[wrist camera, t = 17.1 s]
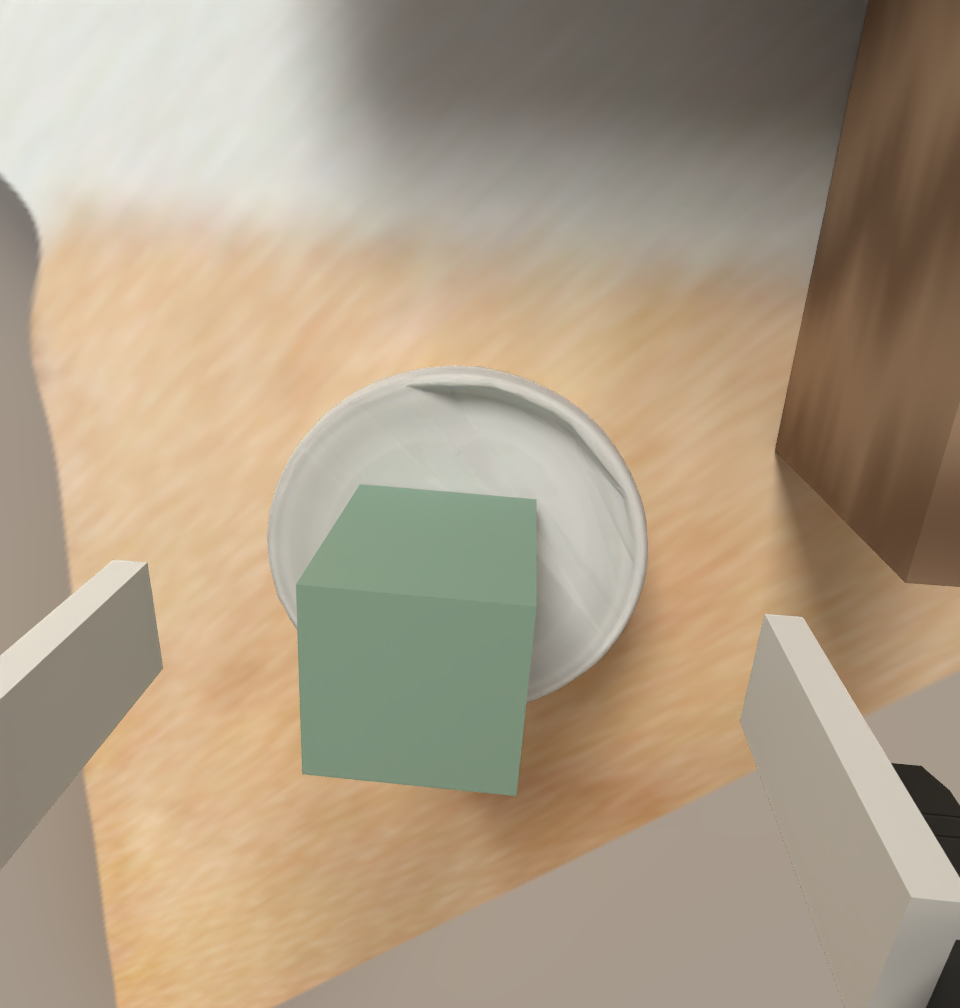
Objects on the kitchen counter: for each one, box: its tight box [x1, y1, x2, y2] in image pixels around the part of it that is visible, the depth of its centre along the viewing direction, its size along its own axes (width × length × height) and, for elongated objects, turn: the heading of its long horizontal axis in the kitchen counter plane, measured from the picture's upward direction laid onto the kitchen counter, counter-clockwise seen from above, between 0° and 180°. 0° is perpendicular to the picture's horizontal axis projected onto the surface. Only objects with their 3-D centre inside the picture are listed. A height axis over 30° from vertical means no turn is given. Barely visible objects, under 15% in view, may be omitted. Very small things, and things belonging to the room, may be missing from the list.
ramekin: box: [267, 366, 648, 703], centre depth 24 cm, size 11×11×5 cm
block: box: [296, 484, 537, 796], centre depth 19 cm, size 5×5×6 cm
